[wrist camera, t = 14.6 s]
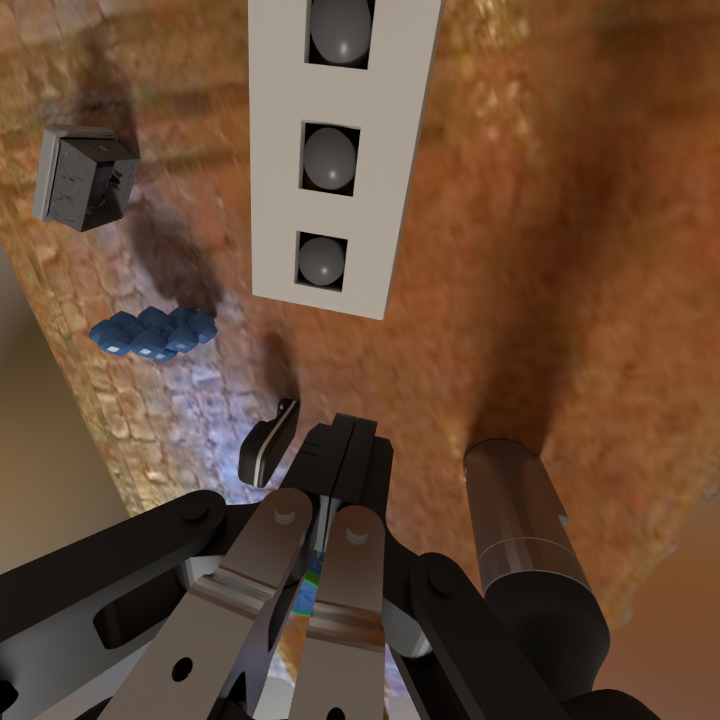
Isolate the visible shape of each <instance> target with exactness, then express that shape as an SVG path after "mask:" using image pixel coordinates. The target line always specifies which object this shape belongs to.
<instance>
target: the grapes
mask: <svg viewBox="0 0 720 720" xmlns="http://www.w3.org/2000/svg"><path fill="white" fill-rule="evenodd" d="M214 325H215V322H214V319H213V318H212V317H211V316H209V315H208V314H206V313H204V312H201V311H198V312H197V313H195V314H194V313H193V312H191V311H190V310H188V309H186V308H184V307H181V306H180V307H178V308H176V309H175V310H174V311H172V312H171V313H170V314H169V315H166V314H165V313H164V312H163V311H161V310H159V309H157V308H155V307H152V306H150V307H148V308H147V309H145V310H144V311H142V312H141V313H140V314H139V316H138V317H137V318H136V317H135V316H133V315H131V314H128V313H126V312H123V311H120V312H118V313H116V314H115V315H114V316H112V317H111V318H110V319H109V320H106V319H105V320H103V321H101V322H99V323H98V324H97V325H95V326H94V327H93V328H92V329H91V331H90V332H89V337H90V339H92V340H93V341H94V342H96V343H98V347H99V348H100V349H102V350H103V351H105V352H107V353H110V354H114V355H118V356H123V355H124V354H126V353H128V352H129V351H130V350H132V351H133V352H135V353H136V354H138V355H141V356H144V357H147V358H151V359H152V358H153V359H156V360H159V361H162V362H166V361H168V360H170V359H171V358H173V357H174V356H175V355H176V354H177V352H178V351H179V352H182V353H186V352H188V351H190V350H191V349H193V348H194V347H195V346H196V345H197V344H198V342H200V343H203V344H204V343H206V342H208V341H209V340H211V339H212V338H213V337H215V335H216V333H217V329H216V327H215V326H214Z"/></svg>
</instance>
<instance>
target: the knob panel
mask: <svg viewBox="0 0 720 720" xmlns="http://www.w3.org/2000/svg"><path fill="white" fill-rule="evenodd" d="M366 1H367V4H371V5H375V10H374V19H373V27H372V36H371V45H370V53H369V62H368V70H363V69H354V68H345V67H336V66H327V65H318V64H309V43H310V15H311V3H312V0H248V31H249V97H250V163H251V229H252V295H256V296H261V297H266V298H271V299H276V300H282V301H287V302H292V303H297V304H302V305H307V306H312V307H317V308H322V309H327V310H333V311H338V312H343V313H348V314H353V315H358V316H363V317H368V318H373V319H378V320H383V319H384V316H385V313H386V311H387V308H388V306H389V301H390V296H391V291H392V285H393V280H394V275H395V269H396V264H397V259H398V253H399V248H400V243H401V237H402V232H403V227H404V221H405V216H406V211H407V205H408V200H409V195H410V189H411V184H412V179H413V173H414V168H415V163H416V157H417V152H418V147H419V141H420V136H421V131H422V125H423V120H424V115H425V109H426V104H427V99H428V93H429V88H430V83H431V77H432V72H433V67H434V61H435V56H436V51H437V45H438V40H439V35H440V29H441V24H442V19H443V13H444V8H445V3H446V0H366ZM305 123H314V124H322V125H329V126H337V127H344V128H352V129H360V130H361V131H360V140H359V149H358V157H357V166H356V175H355V183H354V192H353V197H350V196H344V195H337V194H331V193H324V192H318V191H312V190H305V189H302V183H303V163H304V160H303V155H304V143H305ZM300 231H301V232H307V233H313V234H319V235H325V236H331V237H337V238H343V239H348V244H347V252H346V261H345V270H344V278H343V287H337V286H331V285H317V284H314V283H312V282H310V281H305V280H299V279H298V263H299V262H298V258H299V243H300Z"/></svg>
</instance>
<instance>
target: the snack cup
mask: <svg viewBox="0 0 720 720" xmlns="http://www.w3.org/2000/svg"><path fill="white" fill-rule="evenodd" d="M325 542H326V539H325ZM324 549H325V543H324V546H323V549H322V552H321V551H317V550H313V553H312V556H311V560H310V563H309V566H308V568H307V571H306V574H305V578H304V581H303V583H302V585H301V588H300V590H299V593H298V595H297V598H296V600H295V603H294V605H293V608H292V610H291V612H292V613H295V614H298V615H302V616H311V613H312V611H313V607H314V603H315V598H316V593H317V589H318V584H319V579H320V575H321V570H322V565H323V561H324V556H325V552H324Z"/></svg>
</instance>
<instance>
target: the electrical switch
mask: <svg viewBox="0 0 720 720" xmlns="http://www.w3.org/2000/svg"><path fill="white" fill-rule="evenodd" d="M118 138H119V136H118V134H117V133H116V132H115V131H113V130H111V129H110V128H108V127H94V126H78V125H62V124H49V125H48V126H47V127H46V128H45V129H44V136H43V143H42V149H41V156H40V163H39V169H38V176H37V183H36V189H35V196H34V203H33V209H32V214H33V216H34V217H35V218H37V219H39V220H41V221H42V222H50V221H53V220H54V219H55V220H57V221H58V222H60V223H62V224H65V225H68V226H70V227H72V228H73V229H75V230H77V231H79V232H84V231H87V230H90V229H93V228H95V227H98V226H101V225H104V224H107V223H110V222H113V221H116V220H119V219H122V217H123V216H124V213H125V210H126V206H127V203H128V200H129V196H130V193H131V190H132V186H133V183H134V179H135V176H136V173H137V169H138V166H139V163H140V159H141V158H139V157H138V156H136V155H135V154H133V153H131V152H130V151H129V150H128V149H127V148H126V147H124V146H123V145H121V144H120V143H118ZM132 167H133V169H132ZM116 170H117V171H118V172H119V173H120V174H122V175H123V176H122V175H120V174H118V172H117V171H116ZM112 174H114V175H115V176H117V177H118V178H119V180H120V183H119V184H116V183H114V182H111V181H110V179H111V177H112ZM129 175H130V176H129ZM110 185H112V186H114V187H115V188H114V187H112V186H110ZM108 186H109V187H108ZM116 188H117V189H116ZM118 189H119V190H120V191H119V190H118ZM124 199H125V200H124ZM104 200H105V202H104ZM116 205H117V206H116ZM114 212H115V213H114ZM119 215H120V216H119ZM121 216H122V217H121ZM85 218H86V219H85Z"/></svg>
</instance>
